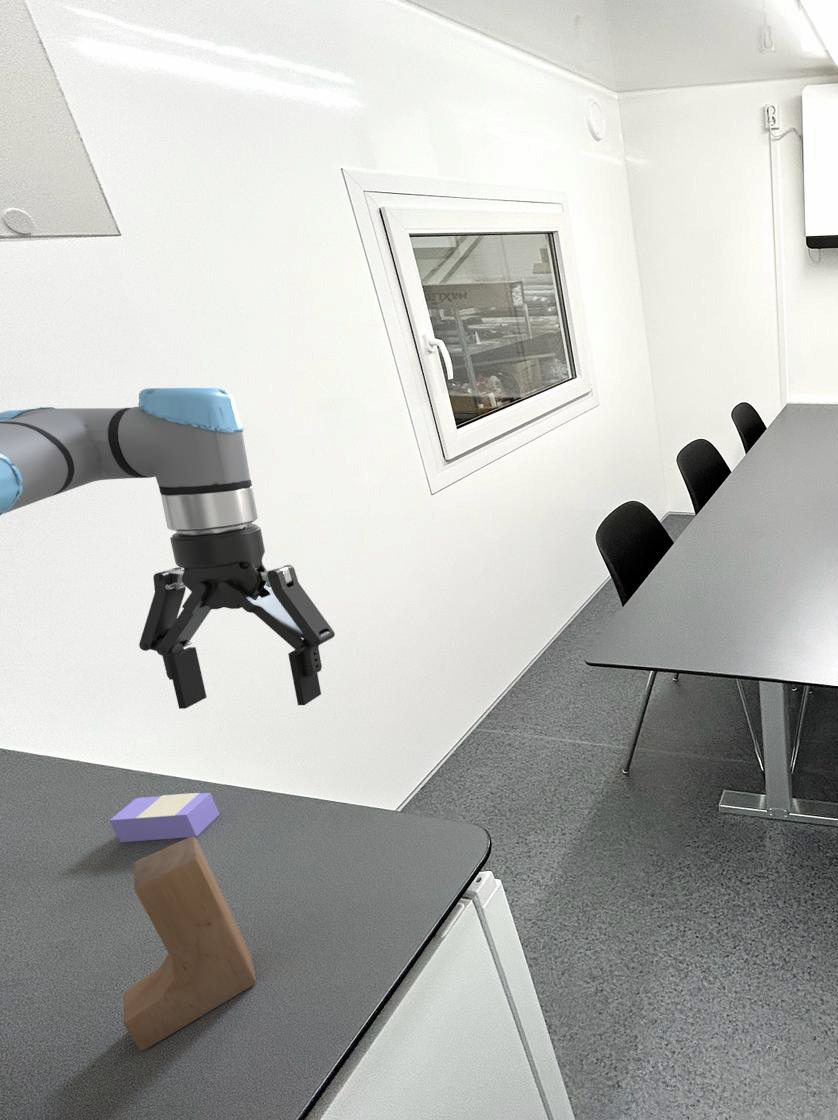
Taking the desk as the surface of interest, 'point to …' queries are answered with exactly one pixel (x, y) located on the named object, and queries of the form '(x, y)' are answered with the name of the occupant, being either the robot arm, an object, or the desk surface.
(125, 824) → the snack box
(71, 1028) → the desk surface
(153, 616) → the robot arm
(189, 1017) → the wooden block
